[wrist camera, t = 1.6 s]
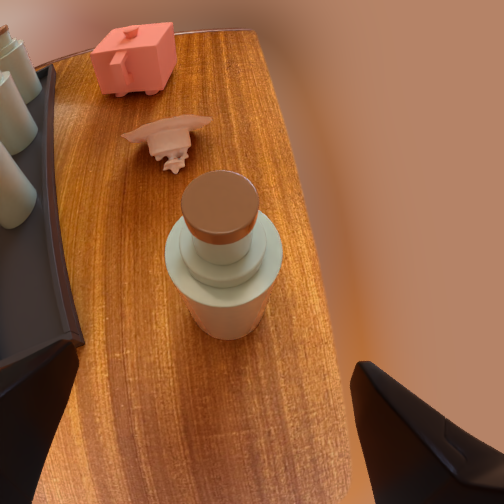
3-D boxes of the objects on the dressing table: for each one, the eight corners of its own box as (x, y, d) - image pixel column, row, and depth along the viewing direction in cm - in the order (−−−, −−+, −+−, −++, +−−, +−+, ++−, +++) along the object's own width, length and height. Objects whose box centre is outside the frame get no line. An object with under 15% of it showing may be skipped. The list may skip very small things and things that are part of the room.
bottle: (258, 345, 21) (290, 288, 9) (183, 332, 21) (121, 257, 9) (269, 276, 23) (303, 155, 11) (199, 264, 23) (169, 137, 11)
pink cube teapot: (183, 56, 35) (178, 5, 28) (159, 108, 30) (148, 45, 23) (130, 59, 35) (121, 12, 27) (98, 111, 30) (78, 55, 22)
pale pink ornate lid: (167, 187, 30) (102, 174, 23) (167, 139, 30) (106, 118, 23) (234, 168, 26) (169, 143, 19) (230, 115, 26) (170, 80, 19)
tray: (85, 344, 20) (72, 339, 18) (4, 375, 18) (-11, 372, 16) (56, 73, 35) (52, 63, 33) (8, 99, 32) (3, 89, 31)
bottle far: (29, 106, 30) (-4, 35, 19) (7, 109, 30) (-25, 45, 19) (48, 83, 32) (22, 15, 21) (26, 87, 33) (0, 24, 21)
